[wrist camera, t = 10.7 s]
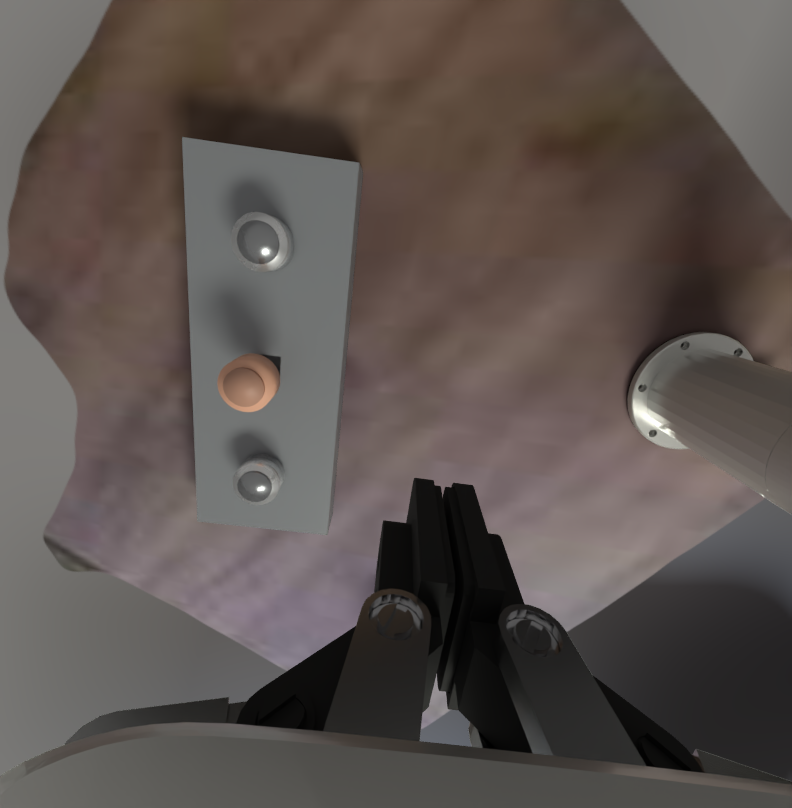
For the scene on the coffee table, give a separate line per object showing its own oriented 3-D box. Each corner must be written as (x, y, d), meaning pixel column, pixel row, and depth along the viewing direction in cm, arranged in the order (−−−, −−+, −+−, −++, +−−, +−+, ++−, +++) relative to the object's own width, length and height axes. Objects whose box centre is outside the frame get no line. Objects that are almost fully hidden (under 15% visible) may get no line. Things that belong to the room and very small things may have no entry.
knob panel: (363, 172, 37) (359, 162, 33) (332, 513, 49) (327, 535, 45) (204, 149, 36) (182, 137, 32) (213, 500, 48) (197, 521, 44)
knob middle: (290, 348, 38) (271, 364, 32) (288, 394, 39) (270, 416, 34) (242, 342, 38) (214, 357, 32) (242, 388, 39) (215, 410, 33)
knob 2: (293, 442, 44) (277, 469, 39) (291, 478, 46) (276, 509, 40) (252, 438, 44) (230, 464, 38) (251, 474, 46) (231, 504, 40)
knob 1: (303, 222, 37) (287, 215, 31) (301, 273, 38) (284, 275, 33) (254, 215, 37) (228, 207, 31) (253, 266, 38) (229, 268, 33)
